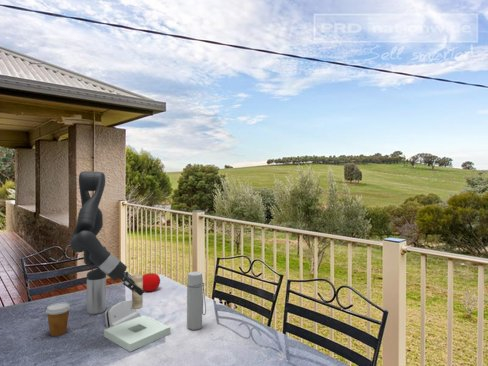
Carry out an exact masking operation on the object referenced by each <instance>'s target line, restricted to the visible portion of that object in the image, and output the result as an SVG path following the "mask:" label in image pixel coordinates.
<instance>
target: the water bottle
mask: <svg viewBox="0 0 488 366" xmlns="http://www.w3.org/2000/svg"><path fill="white" fill-rule="evenodd" d="M186 281H187V282H186V285H187V286H186V298H187V299H186V328H187V330H188V329H189V330H191V331H195V330H200V329H201V328H202V327H203V316H206V314H207V306H206V305H207V303H206V302H204V301H206V295H205V293H206V292H203V291H205V282H204V281H203V273H202V272H201V271H191V272H188V273H187V279H186ZM204 307H205V308H204ZM204 309H205V310H204Z"/></svg>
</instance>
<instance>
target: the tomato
mask: <svg viewBox="0 0 488 366" xmlns="http://www.w3.org/2000/svg"><path fill="white" fill-rule="evenodd" d="M160 284H161V278H160V276H159V275H158V274H157V273H154V272H153V273H152V272H151V273H150V272H149V273H144V274H143V291H144V292H152V291H155V290H157V289H158V288H159V287H160Z"/></svg>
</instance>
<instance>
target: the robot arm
mask: <svg viewBox="0 0 488 366" xmlns="http://www.w3.org/2000/svg"><path fill="white" fill-rule="evenodd" d="M105 186H106V175H105V173H104V172H102V171H91V170H89V171H87V170H86V171H85V170H84V171H83V170H82V171H81V172H79V175H78V188H79V189H78V190H79V194H80V203H81V208H79V211H78V214H77V215H78V216H77V220H76V225H75V227H74V230H73V233H72V235H71V238H70V245H69V246H70V247H71V250H72V251H73V252H75V253H79V254H80V253H83V263H84V264H85V265H86V266H97V268H95V269H92V270H90V271H88V272H87V274H86V313H87V314H90V315H96V314H101V313H103V312H104V313H105V312H106V311H107V276H108V277H109V278H110V279H111V280H112V281H114V282H115V281H117V280H118V279H120V282H121V284H123V286H125V287H127V288H128V289H129V290H130V291H131V292H132V291H135V292H136V293H138V294H139V295H140V296H141V295H142V294H144V293H145V291H144V290H142V289H141V288H140V287H138V285H136V284H135V281H134V280H133V279H132V275H131V274H130V272H129V271H127V268H128V265H126V264H124V263H123V262H122V260H121V261H120V259H119V258H118V257H116V256H115V255H113V254H112V253H111V252H110V251H109V250H107V247H106V246H103V244H102V243H101V241H100V240H99V238H98V237H97V236H98V234H99V233H100V232H101V230H102V228H103V225H104V222H103V221H104V219H103V217H104V216H103V212H102V210H101V208H100V207H99V206H100V202H101V201H102V196H103V193H104V189H105ZM90 192H93V194H92V196H91V194H90ZM132 285H133V286H134V287H133V288H132Z"/></svg>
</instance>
